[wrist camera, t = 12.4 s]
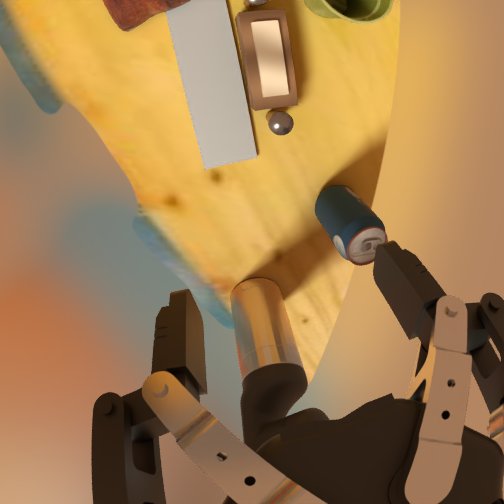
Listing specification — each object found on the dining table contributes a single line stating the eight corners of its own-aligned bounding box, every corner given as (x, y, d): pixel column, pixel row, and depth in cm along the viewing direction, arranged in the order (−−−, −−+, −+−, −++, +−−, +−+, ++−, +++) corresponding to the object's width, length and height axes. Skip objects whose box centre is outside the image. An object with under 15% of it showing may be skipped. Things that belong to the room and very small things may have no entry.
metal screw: (285, 125, 34) (294, 133, 31) (264, 128, 34) (271, 137, 31) (281, 105, 33) (291, 110, 29) (260, 108, 33) (267, 114, 29)
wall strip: (256, 156, 37) (257, 157, 36) (204, 168, 37) (204, 169, 36) (219, -26, 21) (219, -28, 20) (160, -13, 21) (160, -14, 20)
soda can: (310, 222, 44) (338, 272, 35) (313, 182, 40) (348, 225, 31) (349, 219, 45) (384, 265, 36) (355, 180, 41) (397, 221, 31)
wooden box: (288, 100, 33) (299, 105, 29) (249, 105, 33) (256, 111, 29) (275, 15, 25) (285, 7, 21) (234, 19, 25) (239, 11, 21)
